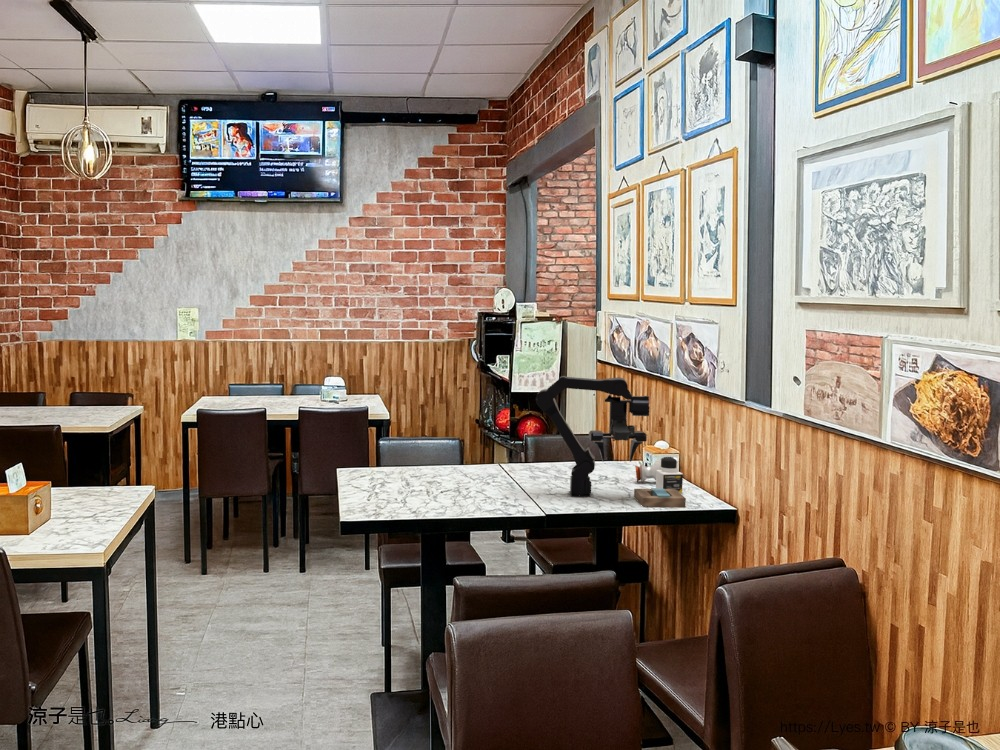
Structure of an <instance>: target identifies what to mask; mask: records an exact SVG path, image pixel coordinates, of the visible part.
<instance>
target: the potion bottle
mask: <svg viewBox="0 0 1000 750" xmlns="http://www.w3.org/2000/svg"><path fill="white" fill-rule="evenodd" d="M662 458H663V457H661V458H659V459H657V460H655V461H654V463H653V464H652V465H650V466H645V465H644V464H642V463H640V465H639V466H637V465H635V476H636V477H635V478H636V483H638V482H639V481H641V482H642V483H644V482H645V481H646V480H648V479H654V480H655V481H656V470H662V469H661V459H662ZM677 471H679V469H678V470H677Z"/></svg>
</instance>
